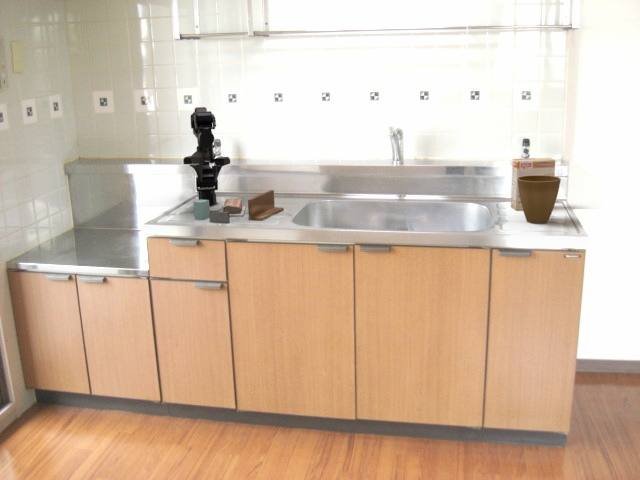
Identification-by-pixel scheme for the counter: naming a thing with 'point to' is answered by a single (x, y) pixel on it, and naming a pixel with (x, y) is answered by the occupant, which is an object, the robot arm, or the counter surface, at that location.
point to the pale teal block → (201, 209)
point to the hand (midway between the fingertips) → (208, 181)
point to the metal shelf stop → (219, 217)
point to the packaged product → (233, 207)
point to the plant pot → (538, 196)
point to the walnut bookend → (262, 206)
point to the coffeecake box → (528, 174)
